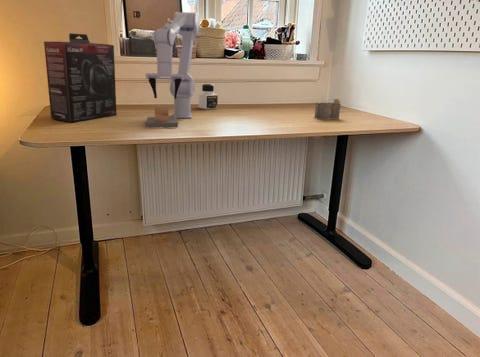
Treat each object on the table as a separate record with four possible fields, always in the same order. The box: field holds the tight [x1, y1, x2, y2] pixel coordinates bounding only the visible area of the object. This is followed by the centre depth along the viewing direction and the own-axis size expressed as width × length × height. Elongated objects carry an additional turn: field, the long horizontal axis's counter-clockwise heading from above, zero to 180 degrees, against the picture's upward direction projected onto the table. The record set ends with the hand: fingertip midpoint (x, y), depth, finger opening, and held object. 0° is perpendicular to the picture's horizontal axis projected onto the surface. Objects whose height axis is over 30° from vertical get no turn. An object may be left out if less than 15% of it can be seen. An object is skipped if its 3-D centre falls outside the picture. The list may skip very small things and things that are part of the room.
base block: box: [145, 116, 179, 128], centre depth 154 cm, size 12×12×2 cm
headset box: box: [43, 32, 117, 123], centre depth 156 cm, size 24×13×33 cm, turn 152°
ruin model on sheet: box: [314, 98, 341, 119], centre depth 183 cm, size 11×3×10 cm, turn 102°
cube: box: [154, 105, 170, 121], centre depth 152 cm, size 5×5×5 cm
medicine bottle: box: [198, 83, 219, 110], centre depth 196 cm, size 7×7×12 cm
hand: (165, 98), depth 152 cm, fingers open, 7 cm apart
